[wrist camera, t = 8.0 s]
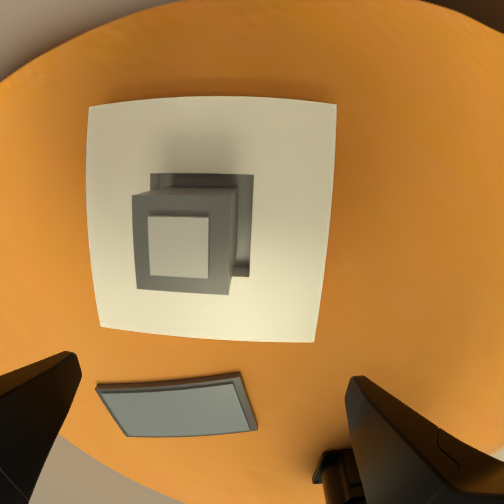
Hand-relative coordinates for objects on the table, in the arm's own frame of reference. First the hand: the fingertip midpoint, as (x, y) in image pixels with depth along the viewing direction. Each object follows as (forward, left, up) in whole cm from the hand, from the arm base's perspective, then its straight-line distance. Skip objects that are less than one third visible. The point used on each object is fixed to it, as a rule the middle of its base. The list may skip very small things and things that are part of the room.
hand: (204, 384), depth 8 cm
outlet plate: (+3, +2, -11) cm, 11 cm away
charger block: (+3, +2, -10) cm, 11 cm away
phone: (-13, +5, -11) cm, 18 cm away
